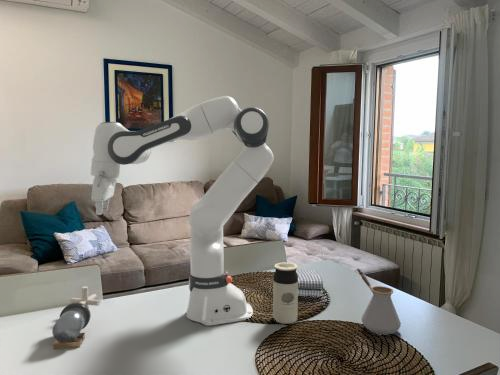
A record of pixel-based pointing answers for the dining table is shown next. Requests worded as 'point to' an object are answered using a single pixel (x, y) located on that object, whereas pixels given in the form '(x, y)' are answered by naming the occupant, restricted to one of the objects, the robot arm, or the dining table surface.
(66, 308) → the lidded storage canister
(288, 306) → the travel mug
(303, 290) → the towel
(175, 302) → the dining table surface
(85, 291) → the beige crossed rods piece
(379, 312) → the coffee pot
